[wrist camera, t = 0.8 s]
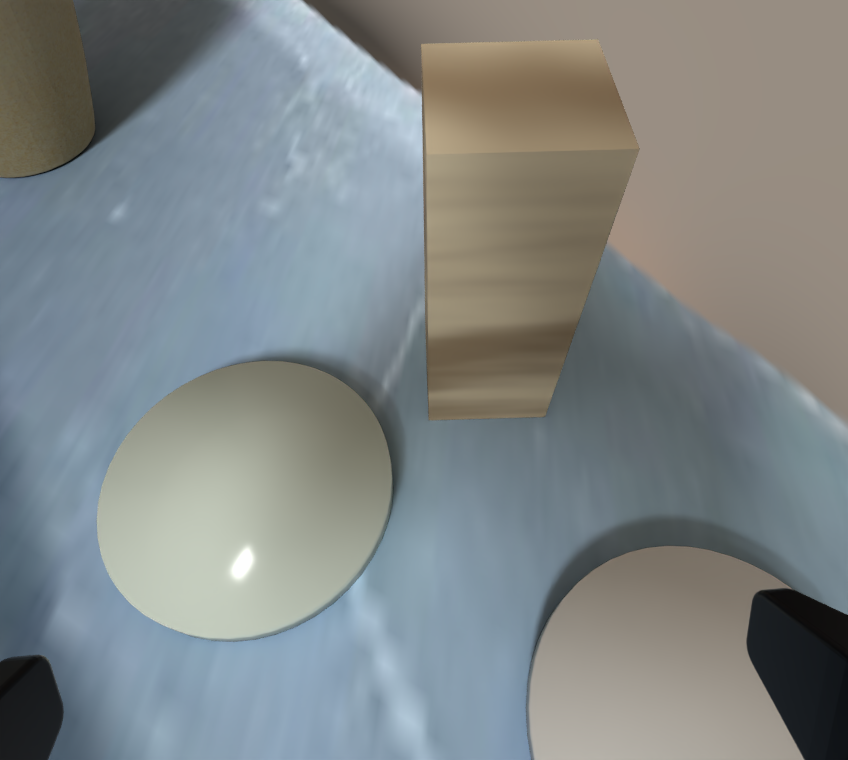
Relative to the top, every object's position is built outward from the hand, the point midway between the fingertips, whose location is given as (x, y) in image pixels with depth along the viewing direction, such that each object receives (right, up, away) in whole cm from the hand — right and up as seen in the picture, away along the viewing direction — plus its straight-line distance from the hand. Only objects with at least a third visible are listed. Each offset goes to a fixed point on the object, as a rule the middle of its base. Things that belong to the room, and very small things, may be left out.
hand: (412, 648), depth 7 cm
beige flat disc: (+9, -8, +11) cm, 16 cm away
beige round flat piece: (-7, -1, +15) cm, 17 cm away
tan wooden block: (+3, +4, +18) cm, 19 cm away
